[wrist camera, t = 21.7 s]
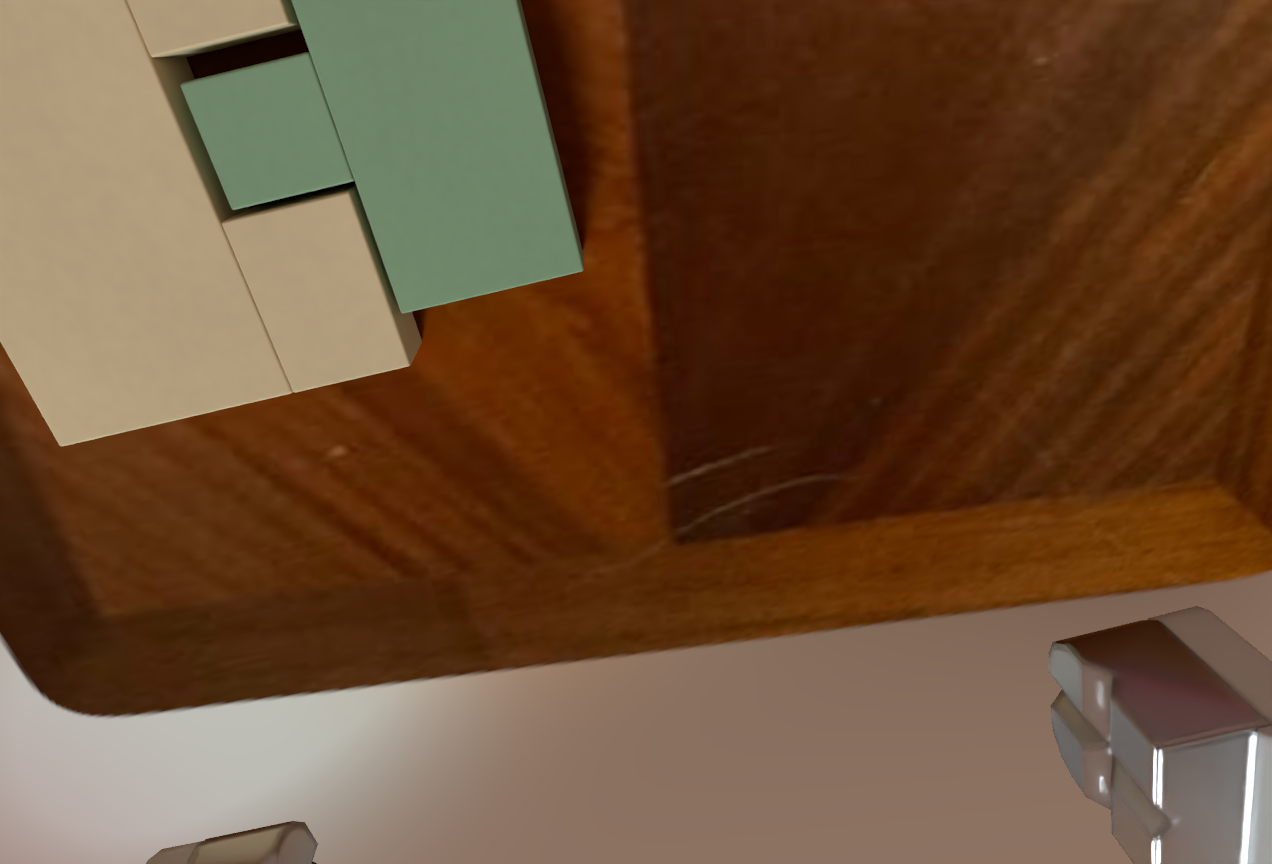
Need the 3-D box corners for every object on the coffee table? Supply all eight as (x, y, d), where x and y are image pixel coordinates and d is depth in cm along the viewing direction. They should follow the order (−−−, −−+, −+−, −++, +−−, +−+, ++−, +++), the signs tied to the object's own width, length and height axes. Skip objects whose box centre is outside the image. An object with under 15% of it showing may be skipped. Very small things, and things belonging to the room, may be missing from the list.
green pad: (583, 254, 29) (584, 271, 27) (308, 318, 29) (285, 341, 27) (481, -158, 24) (472, -180, 22) (150, -75, 24) (106, -88, 22)
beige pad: (423, 342, 30) (410, 366, 27) (98, 417, 30) (59, 447, 28) (237, -199, 23) (200, -227, 21) (-179, -95, 23) (-259, -111, 21)
